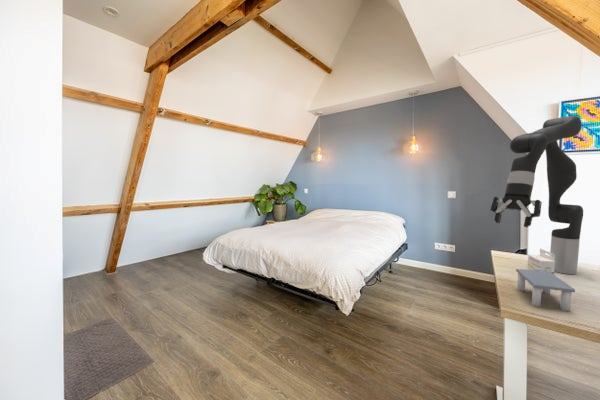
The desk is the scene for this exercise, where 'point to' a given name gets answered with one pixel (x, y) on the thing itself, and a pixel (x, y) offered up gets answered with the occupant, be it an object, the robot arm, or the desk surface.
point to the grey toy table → (544, 286)
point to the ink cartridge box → (542, 262)
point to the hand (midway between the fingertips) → (511, 224)
